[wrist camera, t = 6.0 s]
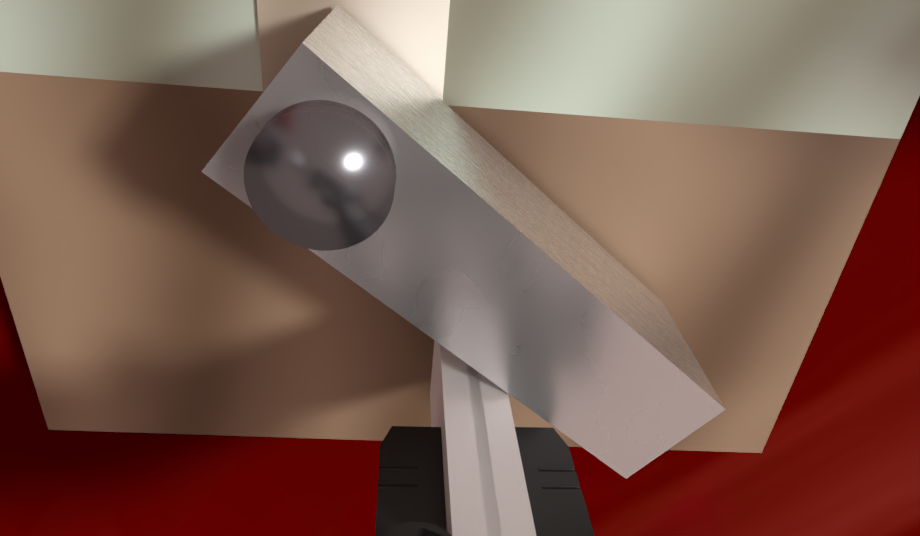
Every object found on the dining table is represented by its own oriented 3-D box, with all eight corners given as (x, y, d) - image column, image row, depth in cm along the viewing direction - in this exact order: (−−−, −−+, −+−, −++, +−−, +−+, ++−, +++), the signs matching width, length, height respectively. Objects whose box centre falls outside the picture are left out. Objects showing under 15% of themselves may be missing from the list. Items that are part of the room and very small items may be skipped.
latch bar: (263, 100, 13) (188, 186, 9) (338, 3, 13) (294, 51, 8) (584, 358, 17) (634, 501, 13) (660, 297, 16) (738, 431, 12)
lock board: (74, 394, 19) (-44, 556, 14) (-215, -650, 9) (-893, -1236, 5) (740, 418, 21) (833, 570, 16) (1091, -445, 11) (1597, -714, 6)
